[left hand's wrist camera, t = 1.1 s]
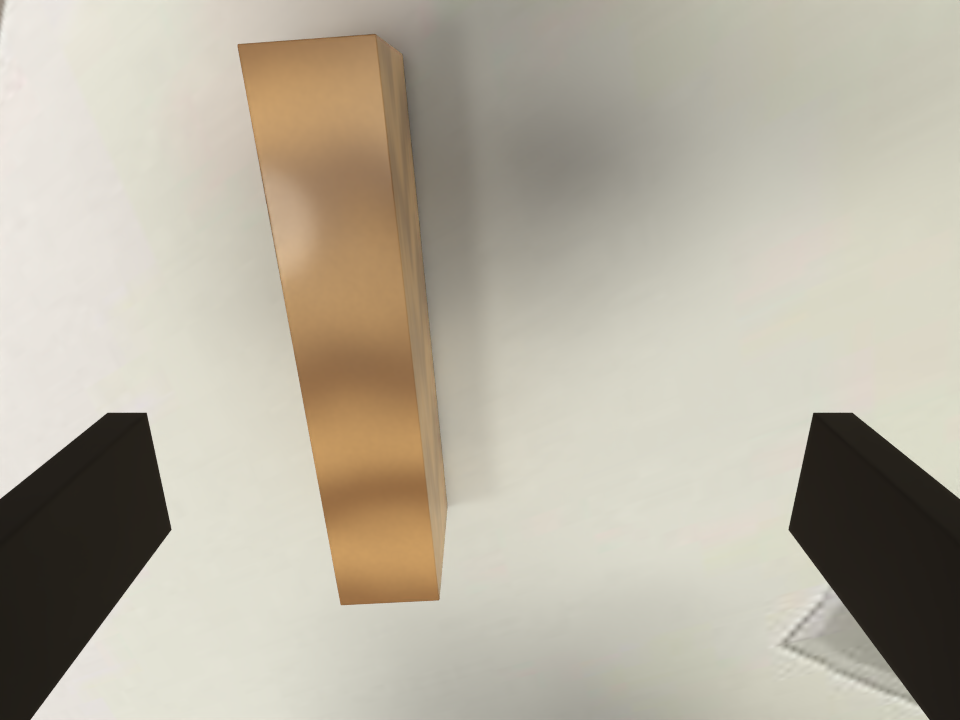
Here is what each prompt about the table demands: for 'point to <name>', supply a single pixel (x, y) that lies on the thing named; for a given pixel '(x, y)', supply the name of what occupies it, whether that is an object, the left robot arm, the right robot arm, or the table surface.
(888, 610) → the left robot arm
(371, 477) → the bar
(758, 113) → the table surface
